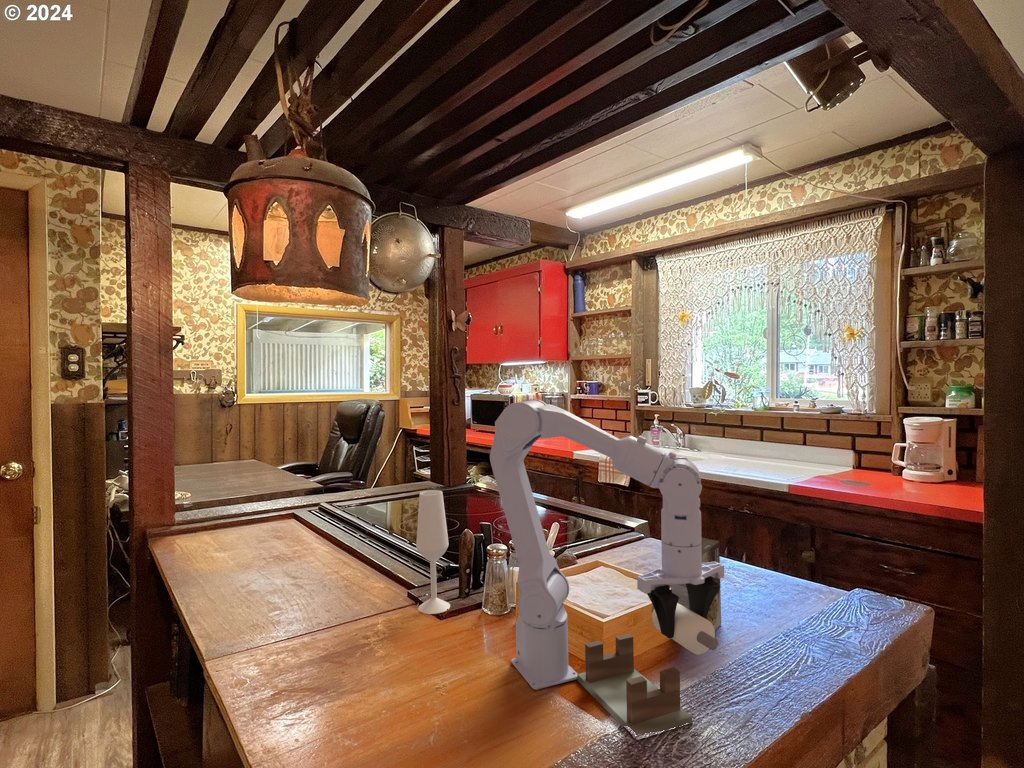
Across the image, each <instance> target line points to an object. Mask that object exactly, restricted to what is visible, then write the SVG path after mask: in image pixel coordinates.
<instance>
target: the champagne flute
mask: <svg viewBox="0 0 1024 768" xmlns="http://www.w3.org/2000/svg"><path fill="white" fill-rule="evenodd" d="M443 493H444V492H443V491H442V490H437V489H433V490H432V489H431V490H424V491H421V492H419V496H418V511H417V512H418V513H417V515H418V516H417V526H416V527H417V529H416V540H415V541H416V544H415V545H416V546H415V547H416V551H418V553H419V554H420V555H421V556H422V557H423V558H424V559H425V560H426V561H429V565H430V566H429V567H430V568H429V569H430V570H429V571H430V597H431V598H428V599H427V600H426V601H424V602H423V603H421V604H420V605H419V606H418V607H417V610H418V611H419V612H421V613H422V614H425V615H426V614H430V615H435V614H436V615H437V614H440V613H444V612H446V611H448V610H449V609H450V608H451V604H450V603H449V602H448V601H446V600H443V599H442V598H441V599H440V598H439V597H438V596H437V595H438V594H437V593H438V592H437V591H438V589H437V561H438V560H439V559H441V557H443V555H444V554H445V553H446V551H447V549H448V547H449V535H448V525H447V518H446V510H445V503H444V501H445V500H444V494H443ZM447 609H448V610H447Z"/></svg>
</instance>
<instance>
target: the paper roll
mask: <svg viewBox="0 0 1024 768" xmlns="http://www.w3.org/2000/svg"><path fill="white" fill-rule="evenodd" d="M651 612H652V624H653V626H654V627H655V629H657V630H658V631H660V632H661V630H660V626H659V622H658V618H657V615H656V612H655V609H654V607H653V605H652V607H651ZM715 636H716V630H714V626H713V625H712V623H711V622H710V621H708V620H707V619H705V618H703V617H701V616H700V615H698V614H696V613H694V612H693V611H691V610H689V609H687V608H686V607H684V606H682V605H680V604H679V603H677V606H676V611H675V629H674V637H673V638H670V639H672V640H673V641H674V642H676V643H678V644H679V645H681V646H682V647H684V648H685V649H686V650H688V651H689V652H691V653H693V654H694V655H697V656H698V655H702V654H706V653H707V652H708V651H709V650H710V651H715V650H717V648H718V646H719V641H718V639H716V637H715Z"/></svg>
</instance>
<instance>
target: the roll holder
mask: <svg viewBox="0 0 1024 768" xmlns="http://www.w3.org/2000/svg"><path fill="white" fill-rule="evenodd" d="M584 650H585V652H584V655H585V657H584V658H585V662H584V664H585V665H584V666H585V671H583V672H581V673H577V679H576V680H577V682H579V683H580V685H581V686H582V687H583V688H584V689H585V690H586V691H587V692H588V693H589V694H590V695H591V696H592V697H593V698H594V699H595V700H596V701H597V702H598V703H599V704H600V705H601V706H602V707H603V708H604V709H605V710H606V711H607V712H608V714H609V715H611V717H612V718H614V719H615V720H616V722H617V723H618V724H619V725H620V726H621V727H622V726H628V727H630V728H631V729H632V730H633V731H634V732H635V733H636V735H638V734H645V733H650V732H657V731H663V730H667V729H670V728H674V727H677V726H681V725H684V724H686V723H691V722H692V723H693V716H692V715H691V714H690V713H689V712H688V711H686V709H684V708H683V707H681V671H680V670H679V669H678V668H676V667H675V666H673V667H669V668H666V669H662V670H659V688H658V686H656V685H655V684H654V683H652V682H651V681H650V680H649V679H648V678H646V677H645V676H644V675H642V673H641V672H639V671H638V670H637V669H635V665H634V664H635V663H634V662H635V660H634V659H635V658H634V657H635V656H634V654H635V652H634V636H633V635H632V634H631V633H626V634H623V635H617V636H615V652H611V653H608V654H604V643H603V642H602V641H600V640H597V641H593V642H592V641H591V642H588V643H585V644H584Z"/></svg>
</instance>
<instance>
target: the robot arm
mask: <svg viewBox="0 0 1024 768" xmlns="http://www.w3.org/2000/svg"><path fill="white" fill-rule="evenodd" d="M494 426H495V427H494V428H495V430H494V432H495V433H494V437H493V440H492V445H491V448H490V453H489V461H490V465H491V469H492V473H493V476H494V477H493V478H494V480H495V482H496V483H495V484H496V486H497V487H496V488H497V491H498V494H499V497H500V500H501V504H502V508H503V511H504V512H503V513H504V514H505V515H504V516H505V519H506V522H507V526H508V530H509V532H510V536H511V540H512V544H513V548H514V550H515V553H516V554H515V555H516V558H517V561H518V573H517V579H516V580H517V581H516V582H517V583H516V584H517V587H518V591H519V592H518V593H519V594H518V595H519V596H518V602H517V608H518V612H519V615H518V617H517V618H516V622H515V646H516V647H515V651H516V653H515V654H516V655H515V657H514V658H512V659H510V660H511V664H512V665H513V666H514V668H515V669H516V670H517V671H518V672H519V673H520V675H521V677H523V679H524V680H525V681H526V682H527V683H528V684H529V686H530V687H531V688H532V690H536V691H537V690H541V689H544V688H549V687H552V686H556V685H561V684H564V683H567V682H570V681H575V680H577V674H578V672H576V671H575V670H574V668H573V667H572V666H570V665H569V638H568V637H569V633H568V632H569V631H568V630H569V629H568V628H569V627H568V613H567V611H566V609H565V606H564V602H565V601H566V599H567V598H568V596H569V595H570V584H569V580H568V578H567V577H566V576H565V574H564V573H563V571H561V569H560V567H559V565H558V561H557V559H556V558H555V557H554V556H553V555H552V554H551V553H550V550H549V547H548V543H547V540H546V536H545V532H544V529H543V525H542V522H541V519H540V515H539V512H538V511H539V510H538V508H537V504H536V501H535V497H534V493H533V490H532V487H531V484H530V483H531V482H530V479H529V476H528V474H527V473H528V472H527V470H526V469H527V468H526V465H525V462H524V460H525V458H526V456H527V455H528V453H530V452H529V451H531V449H532V447H533V446H534V444H535V442H537V441H538V440H539V439H540V438H541V439H549V438H550V439H551V438H561V437H562V438H566V439H568V440H570V441H572V442H574V443H577V444H579V445H581V446H584V447H585V448H588V449H590V450H593V451H594V452H597V453H600V454H602V455H604V456H605V457H608V458H610V460H611V462H612V466H613V467H614V469H615V470H616V471H618V472H619V473H622V474H624V475H626V476H628V477H630V478H632V479H634V480H635V481H638V482H640V483H642V484H644V485H646V486H648V487H649V488H652V489H659V492H660V493H661V495H662V508H661V510H660V517H661V518H660V519H661V520H660V521H661V522H660V524H661V525H660V528H661V532H660V533H661V535H660V536H661V539H660V540H661V566H660V567H657V568H656V569H653V570H651V571H649V572H647V573H645V574H642V575H638V576H637V579H636V581H637V582H636V583H637V587H636V589H637V590H639V592H642V593H643V594H646V595H647V596H648V599H649V600H650V602H651V604H652V606H653V607H654V609H655V612H656V615H657V618H658V622H659V626H660V630H661V631H660V633H661V634H662V635H663V636H665V637H666V638H668V639H671V638H673V637H674V629H675V611H676V606H677V603H678V600H679V597H678V596H677V595H675V594H673V593H672V590H671V586H675V585H680V584H685V583H686V587H687V592H688V597H689V609H690V610H691V611H693V612H694V613H696V614H698V615H700V616H701V617H703V618H705V619H706V618H707V615H708V612H709V609H710V606H711V604H712V602H713V600H714V598H715V596H716V595H717V593H718V592H719V584H718V583H716V582H714V581H713V578H715V577H716V578H719V579H720V580H721V579H724V578H725V565H724V564H722V563H717V562H708V563H702V547H701V537H702V512H701V510H700V508H701V499H700V495H701V493H702V490H703V485H702V479H701V478H702V477H701V473H700V471H699V469H698V467H697V466H696V464H694V463H693V462H692V461H690V460H689V459H688V458H687V457H683V456H677V453H676V452H674V451H672V450H671V451H669V452H666V451H665V450H662V449H660V448H659V447H656V446H654V445H652V444H650V443H647V440H648V439H647V437H644V436H642V435H639V436H637V437H635V436H633V435H628V436H624V437H622V438H619V437H616V436H615V435H613V434H610V433H609V432H607V431H605V430H603V429H602V428H600V427H598V426H596V425H594V424H592V423H590V422H588V421H586V420H584V419H583V418H581V417H579V416H576V415H575V414H574V413H572V412H569V411H568V410H565V409H563V408H561V407H558V406H557V405H554V404H550V403H549V404H547V403H546V402H544V401H543V400H540V399H538V398H532V399H527V400H526V401H516V402H513V403H510V404H509V405H507V406H506V407H505V408H504V409H503V411H502V412H501V413H500V415H499V416H498V417H497V419H496V420H495V421H494Z"/></svg>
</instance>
